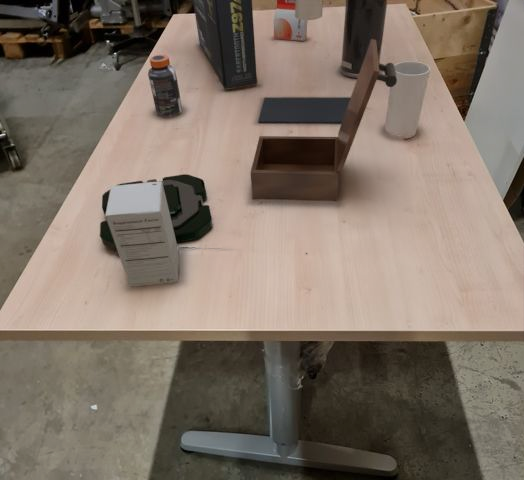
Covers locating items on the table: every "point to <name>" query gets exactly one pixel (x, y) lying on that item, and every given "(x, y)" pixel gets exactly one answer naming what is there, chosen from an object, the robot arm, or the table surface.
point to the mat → (303, 110)
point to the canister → (308, 9)
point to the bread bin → (295, 168)
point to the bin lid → (362, 99)
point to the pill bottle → (164, 87)
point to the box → (228, 39)
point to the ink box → (288, 22)
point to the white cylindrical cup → (406, 98)
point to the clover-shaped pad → (175, 208)
